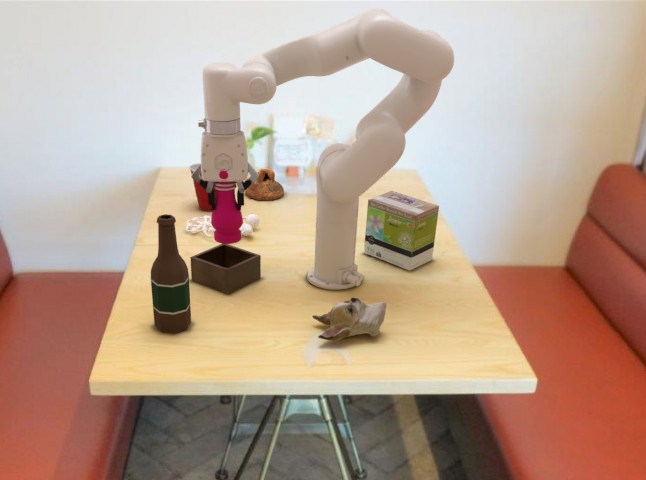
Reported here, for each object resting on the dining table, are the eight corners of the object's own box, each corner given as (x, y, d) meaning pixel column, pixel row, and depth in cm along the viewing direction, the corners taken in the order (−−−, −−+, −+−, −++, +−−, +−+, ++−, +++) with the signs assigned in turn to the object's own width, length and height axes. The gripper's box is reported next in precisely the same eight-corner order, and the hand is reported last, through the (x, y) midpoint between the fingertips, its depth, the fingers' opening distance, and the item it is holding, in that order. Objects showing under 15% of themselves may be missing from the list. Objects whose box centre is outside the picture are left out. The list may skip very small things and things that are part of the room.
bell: (288, 190, 246) (288, 166, 242) (278, 202, 236) (278, 178, 232) (251, 186, 248) (251, 162, 244) (240, 198, 238) (240, 174, 234)
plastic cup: (236, 206, 233) (235, 165, 226) (213, 216, 225) (211, 174, 219) (206, 198, 238) (204, 158, 231) (183, 209, 230) (180, 167, 223)
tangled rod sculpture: (177, 241, 212) (176, 227, 210) (195, 218, 223) (193, 204, 221) (248, 247, 209) (247, 233, 206) (262, 224, 220) (261, 209, 217)
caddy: (260, 278, 191) (260, 255, 188) (228, 294, 183) (227, 270, 180) (224, 265, 197) (223, 242, 194) (191, 280, 189) (190, 257, 186)
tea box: (362, 254, 205) (366, 198, 197) (386, 244, 211) (391, 189, 203) (410, 272, 197) (416, 213, 189) (433, 260, 203) (440, 203, 195)
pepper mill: (229, 247, 181) (225, 158, 170) (205, 240, 184) (199, 152, 173) (250, 237, 185) (247, 150, 174) (226, 231, 189) (222, 145, 178)
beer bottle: (175, 337, 166) (168, 226, 153) (146, 327, 169) (137, 218, 156) (198, 323, 171) (193, 215, 158) (170, 313, 175) (163, 207, 162)
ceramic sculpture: (392, 306, 160) (317, 312, 159) (390, 344, 165) (318, 350, 164) (381, 284, 169) (311, 290, 168) (380, 321, 174) (312, 327, 173)
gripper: (180, 130, 168) (187, 214, 178) (262, 130, 168) (264, 214, 178) (184, 121, 174) (190, 202, 184) (263, 121, 174) (265, 203, 184)
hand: (226, 207), depth 181 cm, fingers closed on pepper mill, 5 cm apart
